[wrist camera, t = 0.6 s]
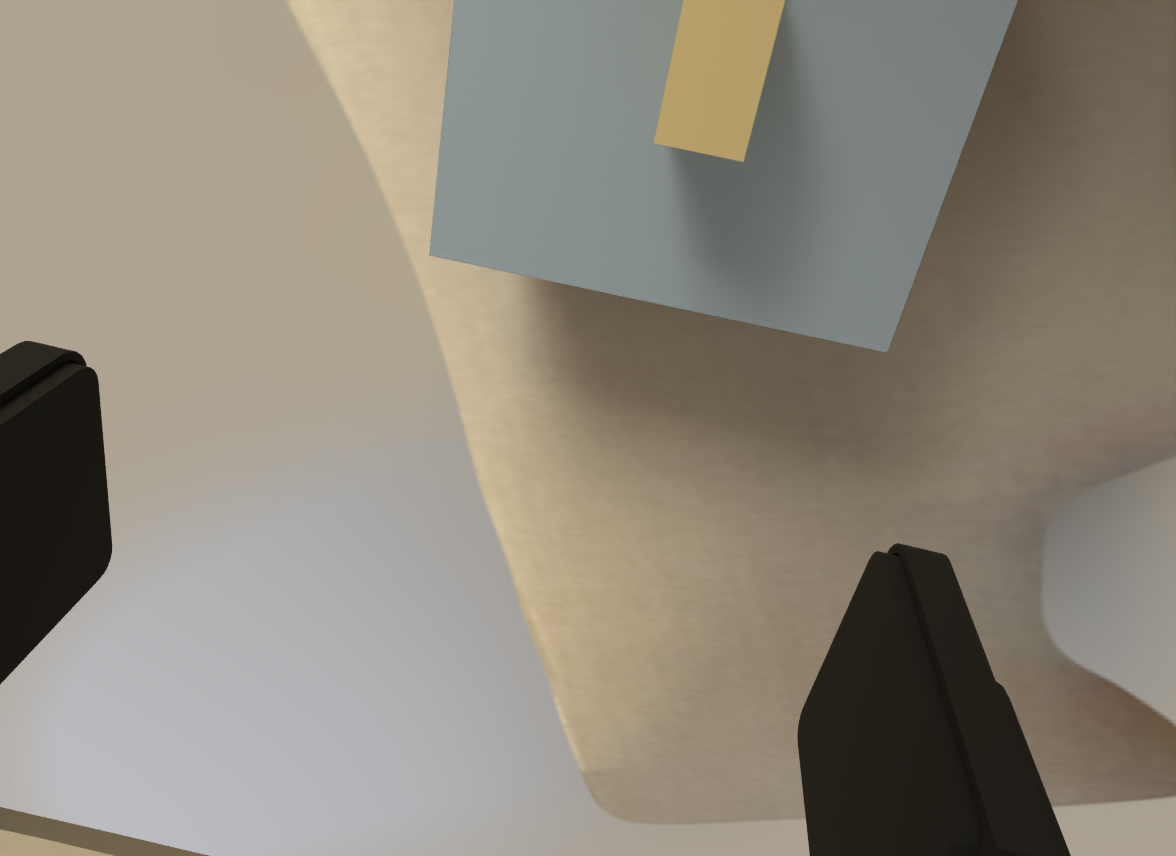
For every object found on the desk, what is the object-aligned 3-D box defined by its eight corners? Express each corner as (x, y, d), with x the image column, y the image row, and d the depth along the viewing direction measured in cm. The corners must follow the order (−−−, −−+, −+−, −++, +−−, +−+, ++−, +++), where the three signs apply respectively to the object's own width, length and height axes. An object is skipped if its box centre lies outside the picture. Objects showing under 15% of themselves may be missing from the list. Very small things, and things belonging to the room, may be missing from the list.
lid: (501, -376, 21) (430, -488, 15) (1098, -257, 20) (1235, -329, 15) (438, 245, 28) (374, 315, 22) (881, 339, 27) (922, 432, 22)
